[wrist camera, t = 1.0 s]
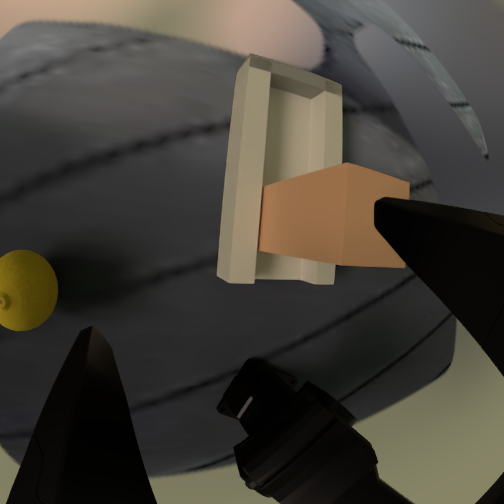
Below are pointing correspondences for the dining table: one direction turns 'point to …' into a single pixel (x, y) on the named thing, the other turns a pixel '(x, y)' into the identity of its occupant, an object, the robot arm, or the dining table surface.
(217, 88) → the dining table surface
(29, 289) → the lemon
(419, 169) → the dining table surface
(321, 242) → the block
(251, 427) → the robot arm
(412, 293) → the dining table surface
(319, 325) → the dining table surface
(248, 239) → the chute
